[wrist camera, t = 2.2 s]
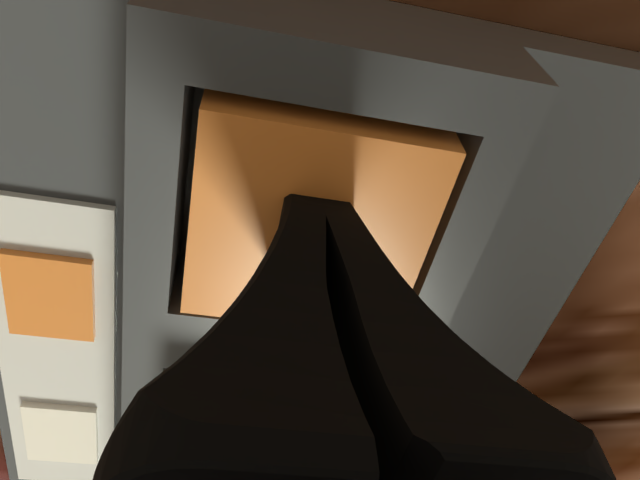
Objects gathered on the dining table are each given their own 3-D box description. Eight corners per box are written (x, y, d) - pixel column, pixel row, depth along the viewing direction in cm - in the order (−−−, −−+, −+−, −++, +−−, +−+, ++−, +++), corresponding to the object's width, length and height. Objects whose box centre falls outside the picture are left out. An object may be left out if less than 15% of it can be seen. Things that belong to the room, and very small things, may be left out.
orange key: (382, 281, 16) (393, 336, 14) (191, 256, 15) (180, 312, 13) (443, 108, 13) (466, 154, 11) (210, 66, 12) (199, 108, 10)
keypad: (397, 534, 28) (410, 620, 25) (34, 513, 25) (2, 606, 22) (664, 57, 14) (760, 125, 11) (-55, -91, 12) (-163, -52, 9)
